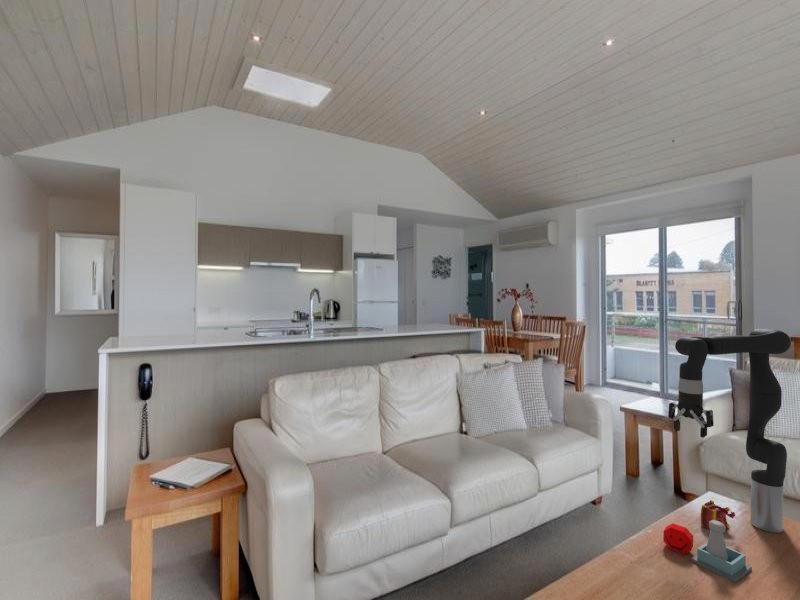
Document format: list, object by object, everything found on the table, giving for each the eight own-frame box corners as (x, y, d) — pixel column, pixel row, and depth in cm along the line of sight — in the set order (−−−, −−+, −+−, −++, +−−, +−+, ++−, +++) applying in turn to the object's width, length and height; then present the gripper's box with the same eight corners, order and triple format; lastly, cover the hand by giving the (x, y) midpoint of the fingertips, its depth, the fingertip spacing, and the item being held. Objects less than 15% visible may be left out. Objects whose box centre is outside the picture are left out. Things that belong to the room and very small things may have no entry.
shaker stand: (708, 549, 143) (708, 537, 143) (751, 569, 133) (751, 555, 133) (691, 561, 137) (691, 547, 137) (734, 582, 127) (735, 568, 127)
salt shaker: (731, 568, 132) (732, 528, 132) (711, 566, 133) (711, 526, 133) (721, 557, 138) (722, 518, 137) (701, 555, 139) (702, 516, 139)
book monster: (711, 518, 163) (744, 537, 152) (694, 522, 161) (726, 541, 149) (713, 492, 163) (746, 509, 151) (695, 496, 160) (727, 513, 149)
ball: (661, 549, 144) (662, 527, 143) (667, 539, 149) (667, 518, 149) (689, 559, 138) (690, 537, 138) (694, 549, 144) (694, 527, 144)
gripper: (717, 393, 151) (716, 437, 151) (675, 386, 163) (674, 427, 164) (707, 396, 147) (706, 441, 148) (665, 388, 160) (664, 430, 160)
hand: (689, 433), depth 156 cm, fingers open, 8 cm apart
